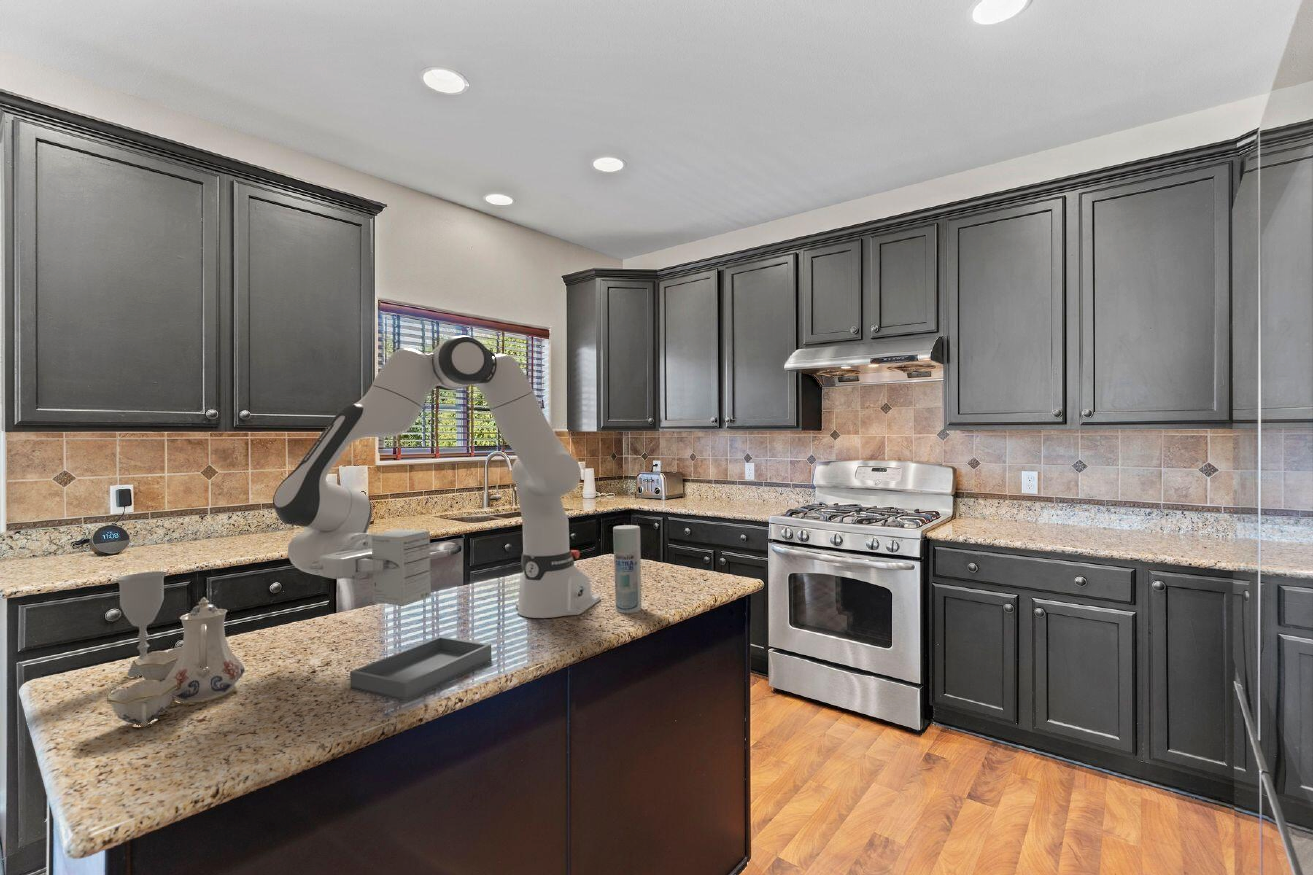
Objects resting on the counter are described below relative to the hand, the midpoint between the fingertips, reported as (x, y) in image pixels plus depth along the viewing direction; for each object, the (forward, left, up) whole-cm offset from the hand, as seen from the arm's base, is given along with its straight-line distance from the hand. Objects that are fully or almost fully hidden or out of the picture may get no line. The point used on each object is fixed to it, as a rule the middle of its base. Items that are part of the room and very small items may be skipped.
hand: (404, 560), depth 113 cm
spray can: (-49, +20, -20) cm, 56 cm away
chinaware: (+24, -24, -20) cm, 40 cm away
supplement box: (0, -1, -8) cm, 8 cm away
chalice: (+21, -44, -20) cm, 53 cm away
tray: (+1, +6, -20) cm, 21 cm away
